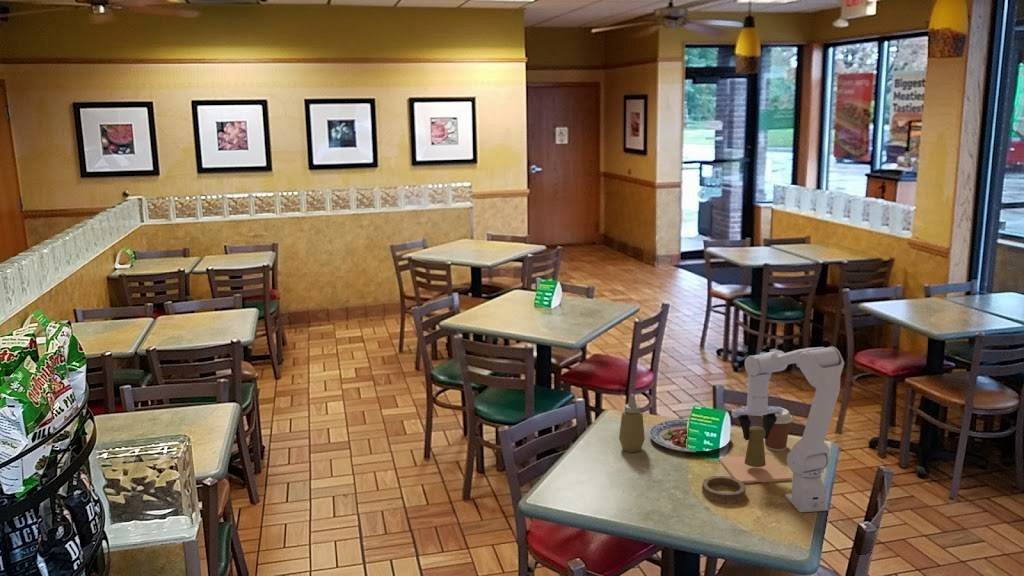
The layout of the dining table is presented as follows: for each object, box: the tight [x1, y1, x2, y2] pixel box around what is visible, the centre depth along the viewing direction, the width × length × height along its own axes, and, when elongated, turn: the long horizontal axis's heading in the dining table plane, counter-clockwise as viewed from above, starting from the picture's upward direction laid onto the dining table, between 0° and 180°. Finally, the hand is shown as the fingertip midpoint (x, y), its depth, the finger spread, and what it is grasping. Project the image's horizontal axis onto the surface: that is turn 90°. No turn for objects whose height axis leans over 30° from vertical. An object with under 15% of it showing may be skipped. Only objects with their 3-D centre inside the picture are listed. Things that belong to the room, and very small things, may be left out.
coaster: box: [718, 454, 793, 485], centre depth 243 cm, size 16×16×1 cm
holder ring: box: [701, 475, 747, 504], centre depth 229 cm, size 11×11×2 cm
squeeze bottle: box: [618, 393, 645, 453], centre depth 257 cm, size 8×8×18 cm
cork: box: [744, 425, 766, 467], centre depth 240 cm, size 6×6×11 cm
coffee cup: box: [761, 407, 793, 452], centre depth 257 cm, size 9×9×12 cm
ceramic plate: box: [648, 418, 732, 453], centre depth 265 cm, size 26×26×3 cm
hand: (755, 438), depth 241 cm, fingers closed on cork, 5 cm apart
